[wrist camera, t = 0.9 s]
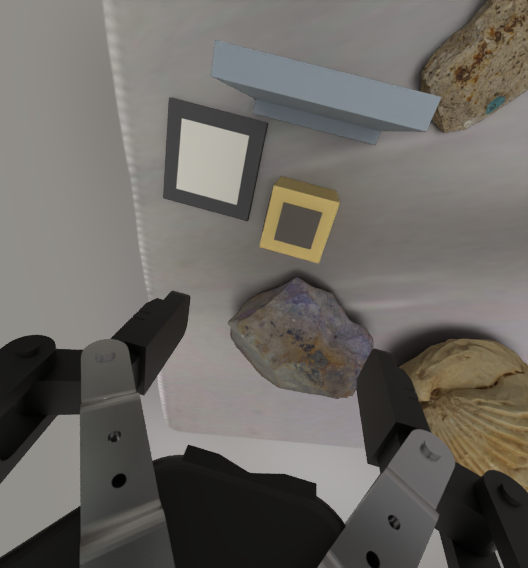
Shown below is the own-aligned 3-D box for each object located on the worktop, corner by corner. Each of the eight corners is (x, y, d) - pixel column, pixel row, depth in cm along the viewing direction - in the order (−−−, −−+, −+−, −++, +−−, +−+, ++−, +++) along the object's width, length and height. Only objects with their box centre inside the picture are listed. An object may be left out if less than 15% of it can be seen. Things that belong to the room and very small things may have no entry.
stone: (394, 332, 24) (366, 448, 31) (387, 279, 33) (367, 378, 40) (201, 300, 29) (213, 407, 36) (240, 261, 38) (244, 352, 45)
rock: (398, 84, 26) (411, 76, 23) (531, -56, 22) (576, -95, 18) (450, 147, 28) (471, 151, 24) (585, 31, 23) (638, 12, 19)
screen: (263, 64, 27) (218, 10, 15) (391, 96, 27) (454, 68, 14) (254, 113, 29) (208, 101, 17) (373, 144, 29) (415, 155, 16)
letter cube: (279, 175, 31) (271, 185, 26) (336, 190, 31) (340, 203, 26) (266, 228, 34) (257, 247, 29) (318, 242, 34) (318, 264, 29)
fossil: (442, 293, 34) (519, 394, 21) (547, 369, 37) (674, 502, 24) (354, 368, 41) (370, 478, 28) (446, 428, 44) (501, 555, 31)
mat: (171, 97, 30) (168, 97, 29) (268, 123, 29) (267, 122, 29) (165, 197, 34) (162, 198, 34) (248, 219, 34) (247, 221, 33)
